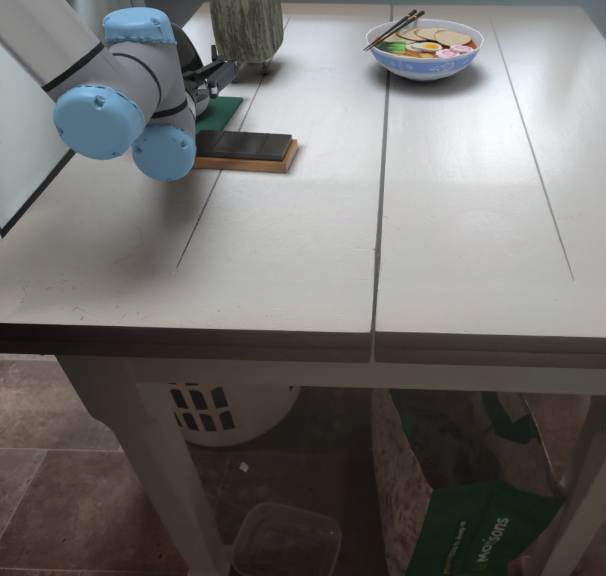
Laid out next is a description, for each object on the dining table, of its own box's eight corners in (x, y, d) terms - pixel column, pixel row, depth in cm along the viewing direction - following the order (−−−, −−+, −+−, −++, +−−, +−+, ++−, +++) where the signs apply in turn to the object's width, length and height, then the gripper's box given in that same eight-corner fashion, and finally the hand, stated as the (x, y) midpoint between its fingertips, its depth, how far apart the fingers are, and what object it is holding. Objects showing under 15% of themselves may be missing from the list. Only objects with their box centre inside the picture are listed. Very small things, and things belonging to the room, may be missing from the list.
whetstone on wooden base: (183, 167, 93) (179, 150, 91) (201, 142, 99) (198, 126, 97) (286, 173, 92) (284, 156, 90) (298, 148, 98) (296, 132, 96)
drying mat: (121, 135, 101) (120, 132, 101) (159, 96, 113) (158, 93, 113) (215, 140, 100) (214, 137, 99) (243, 100, 112) (242, 97, 111)
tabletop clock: (246, 58, 128) (227, -79, 111) (288, 61, 127) (275, -77, 110) (222, 86, 117) (197, -62, 101) (268, 89, 116) (250, -60, 100)
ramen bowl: (452, 110, 109) (455, 64, 104) (341, 86, 117) (339, 42, 111) (498, 64, 126) (503, 23, 121) (398, 46, 134) (399, 7, 128)
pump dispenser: (155, 103, 109) (133, 14, 99) (215, 99, 111) (199, 11, 101) (150, 129, 101) (125, 35, 92) (214, 124, 103) (196, 31, 93)
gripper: (83, 141, 87) (101, 83, 103) (260, 124, 91) (251, 72, 107) (66, 90, 82) (87, 38, 98) (253, 75, 86) (245, 27, 102)
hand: (173, 55), depth 102 cm, fingers open, 13 cm apart
